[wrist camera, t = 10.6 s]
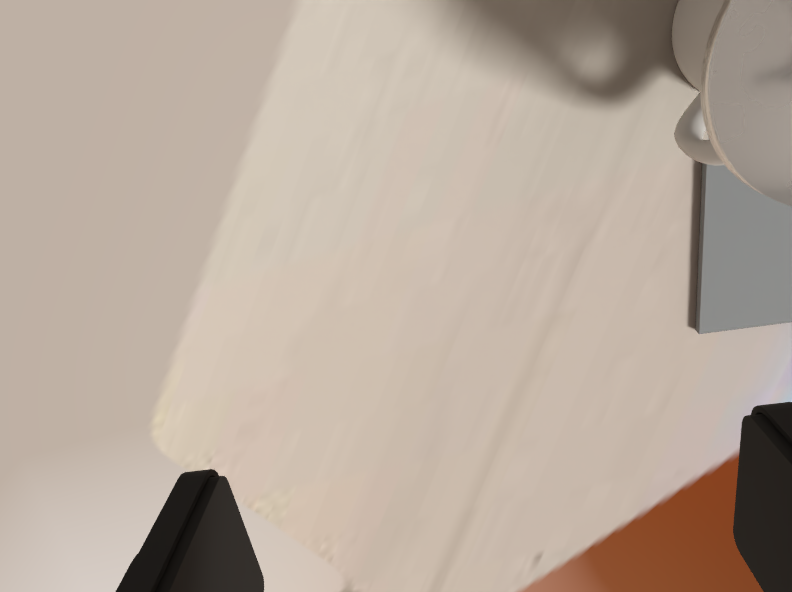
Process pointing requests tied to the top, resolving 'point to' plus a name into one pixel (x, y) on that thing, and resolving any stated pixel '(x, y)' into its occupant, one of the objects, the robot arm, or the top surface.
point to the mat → (742, 256)
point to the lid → (751, 93)
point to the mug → (694, 72)
